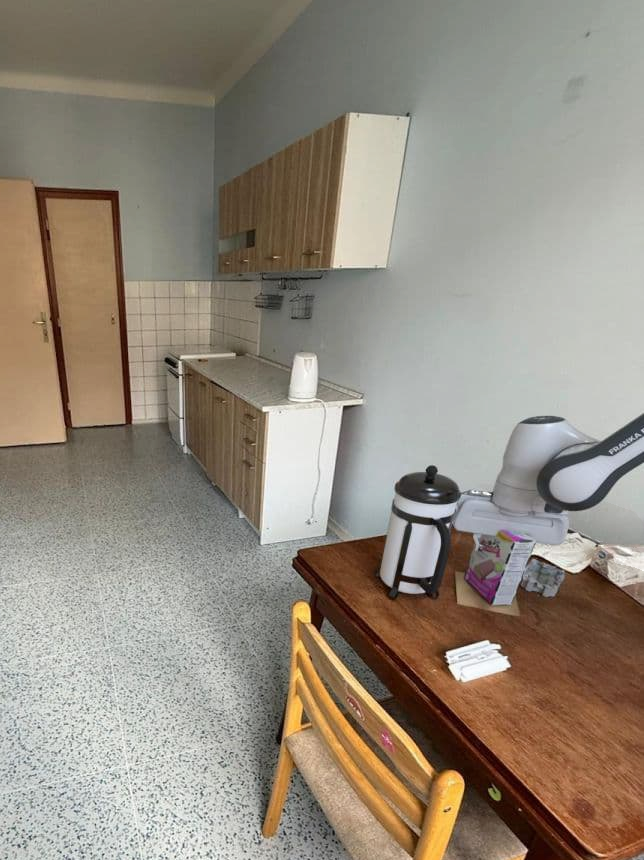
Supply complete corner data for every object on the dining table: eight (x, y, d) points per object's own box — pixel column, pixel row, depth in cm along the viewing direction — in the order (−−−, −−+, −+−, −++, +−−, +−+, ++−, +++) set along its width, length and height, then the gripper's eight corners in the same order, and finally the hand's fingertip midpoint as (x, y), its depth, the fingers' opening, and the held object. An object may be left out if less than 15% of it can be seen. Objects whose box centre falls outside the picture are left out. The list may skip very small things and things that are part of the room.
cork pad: (511, 583, 111) (511, 581, 111) (519, 617, 100) (520, 615, 100) (454, 572, 116) (455, 571, 116) (456, 604, 105) (457, 602, 104)
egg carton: (553, 600, 105) (559, 585, 103) (515, 587, 110) (520, 572, 108) (564, 581, 112) (570, 566, 110) (528, 569, 116) (533, 555, 114)
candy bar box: (461, 578, 112) (481, 516, 104) (481, 577, 112) (503, 516, 105) (490, 606, 102) (514, 540, 95) (512, 606, 103) (538, 540, 95)
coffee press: (356, 587, 111) (377, 466, 97) (391, 563, 120) (415, 449, 106) (429, 621, 100) (465, 490, 85) (461, 591, 109) (499, 468, 95)
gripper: (461, 493, 98) (445, 551, 104) (580, 508, 90) (556, 570, 97) (459, 483, 103) (445, 538, 109) (572, 496, 95) (550, 555, 102)
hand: (498, 553), depth 103 cm, fingers closed on candy bar box, 6 cm apart
